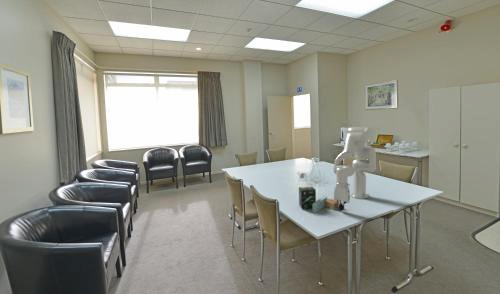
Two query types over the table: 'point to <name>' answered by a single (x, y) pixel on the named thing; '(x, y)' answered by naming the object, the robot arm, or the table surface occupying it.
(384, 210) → the table surface
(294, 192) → the table surface
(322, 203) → the board
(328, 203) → the block
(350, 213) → the table surface
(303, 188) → the tampon box
